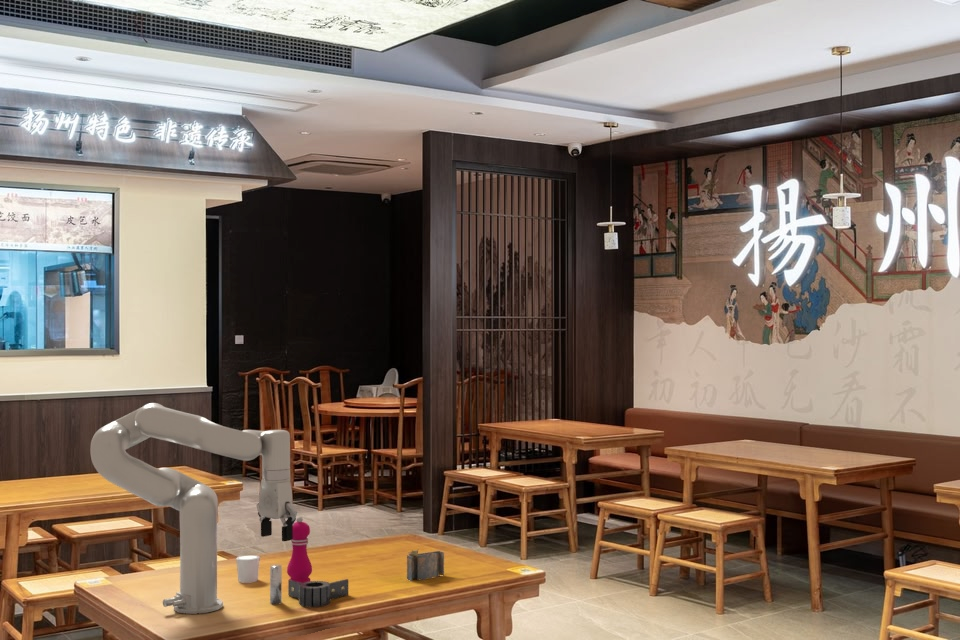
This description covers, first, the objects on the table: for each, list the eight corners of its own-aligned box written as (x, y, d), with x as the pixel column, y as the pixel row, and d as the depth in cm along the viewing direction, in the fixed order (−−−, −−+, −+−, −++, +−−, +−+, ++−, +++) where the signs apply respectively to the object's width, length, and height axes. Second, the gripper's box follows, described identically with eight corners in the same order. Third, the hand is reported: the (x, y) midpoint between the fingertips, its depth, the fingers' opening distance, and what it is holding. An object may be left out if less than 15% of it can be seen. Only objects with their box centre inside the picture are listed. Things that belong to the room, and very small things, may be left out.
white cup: (242, 584, 284) (242, 560, 284) (232, 580, 289) (232, 556, 290) (263, 580, 289) (263, 557, 289) (253, 576, 294) (253, 553, 294)
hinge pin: (274, 605, 262) (274, 567, 262) (268, 603, 264) (268, 566, 264) (283, 602, 264) (283, 565, 264) (277, 600, 266) (277, 564, 266)
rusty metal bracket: (412, 583, 287) (411, 550, 287) (407, 581, 290) (407, 548, 290) (444, 578, 293) (444, 545, 293) (439, 576, 296) (439, 544, 296)
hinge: (311, 608, 258) (311, 590, 258) (277, 598, 268) (277, 580, 269) (357, 597, 269) (357, 579, 269) (322, 587, 280) (322, 570, 280)
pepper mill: (306, 588, 279) (306, 519, 279) (283, 587, 280) (283, 518, 281) (315, 582, 286) (315, 514, 286) (292, 581, 287) (292, 514, 288)
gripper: (246, 474, 268) (246, 536, 268) (283, 479, 256) (284, 544, 256) (269, 471, 273) (269, 532, 273) (306, 476, 262) (307, 540, 261)
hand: (276, 538), depth 264 cm, fingers open, 9 cm apart
